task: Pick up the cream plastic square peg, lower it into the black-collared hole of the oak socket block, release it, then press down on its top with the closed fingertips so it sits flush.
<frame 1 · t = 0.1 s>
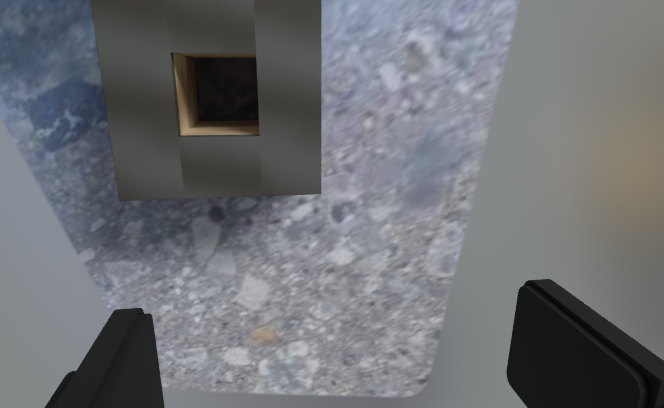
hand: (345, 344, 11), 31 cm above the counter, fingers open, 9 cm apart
socket: (228, 89, 38), on the counter
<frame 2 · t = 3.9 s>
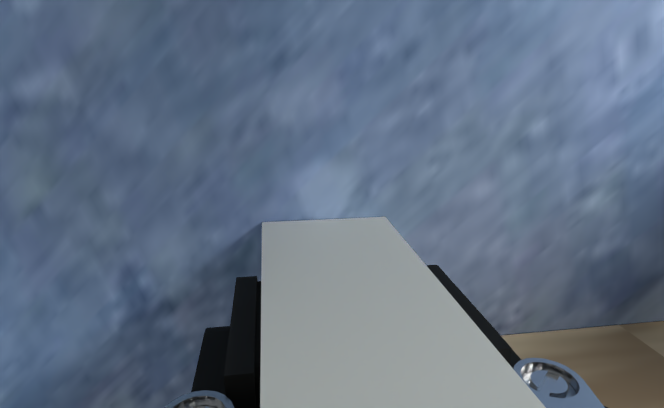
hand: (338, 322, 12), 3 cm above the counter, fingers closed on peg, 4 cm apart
peg: (324, 275, 14), on the counter, touching gripper
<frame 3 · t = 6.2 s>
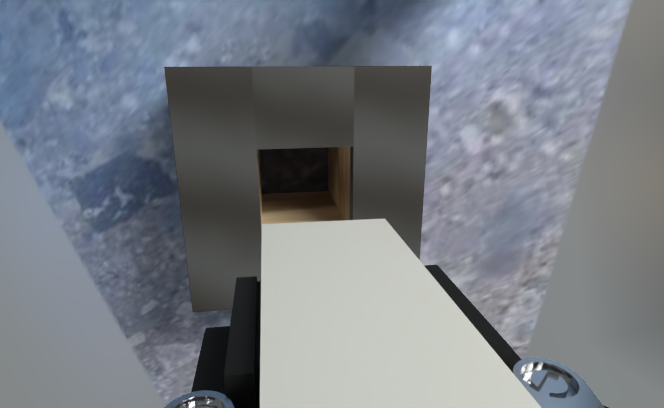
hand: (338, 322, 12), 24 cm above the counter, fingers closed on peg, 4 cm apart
socket: (294, 159, 34), on the counter
peg: (324, 277, 14), point 21 cm above the counter, touching gripper
when the fingers open (11 cm above the counter, at t = 8.8 s): peg drops 8 cm, resting in socket.
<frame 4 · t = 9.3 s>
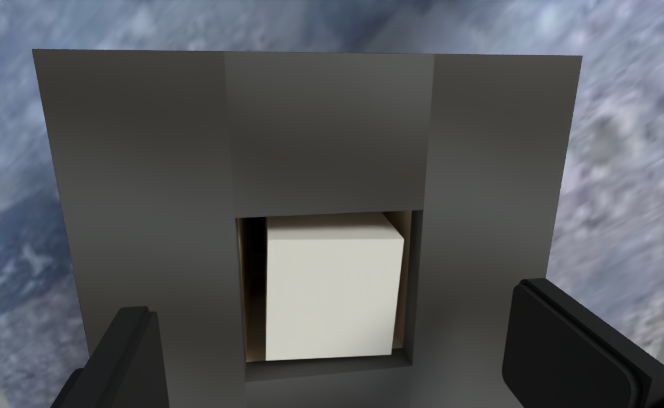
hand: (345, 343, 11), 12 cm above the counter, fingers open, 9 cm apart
socket: (302, 202, 22), on the counter
peg: (303, 204, 22), resting in socket
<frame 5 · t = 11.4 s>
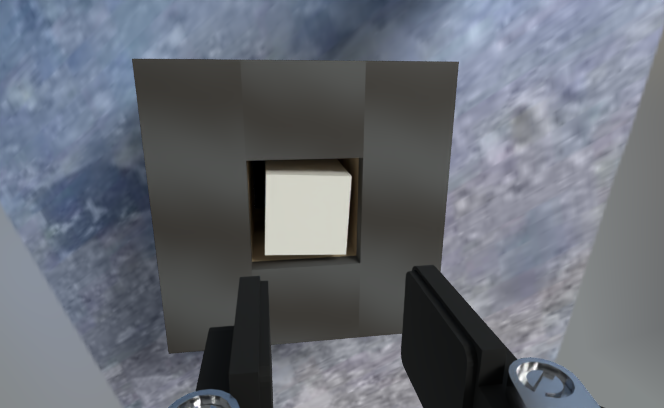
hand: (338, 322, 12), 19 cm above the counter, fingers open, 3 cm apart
socket: (292, 169, 30), on the counter
peg: (293, 170, 30), resting in socket
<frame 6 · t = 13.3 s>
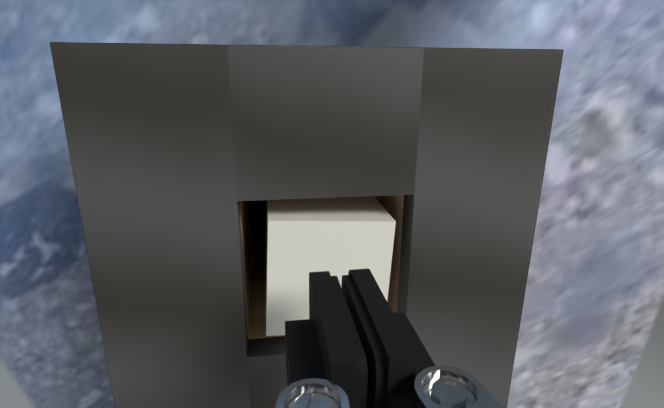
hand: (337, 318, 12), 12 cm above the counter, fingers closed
socket: (301, 192, 23), on the counter
peg: (302, 193, 23), resting in socket
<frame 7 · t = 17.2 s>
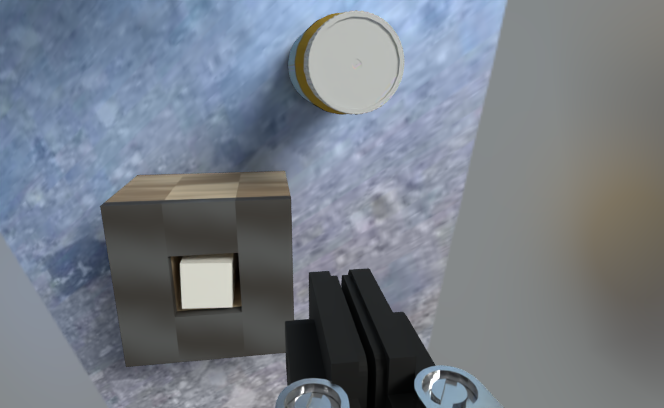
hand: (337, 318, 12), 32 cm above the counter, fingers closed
socket: (218, 239, 44), on the counter
peg: (218, 240, 44), resting in socket
bottle: (324, 66, 41), on the counter
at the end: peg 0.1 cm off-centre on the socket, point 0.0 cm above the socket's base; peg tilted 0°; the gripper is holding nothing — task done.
